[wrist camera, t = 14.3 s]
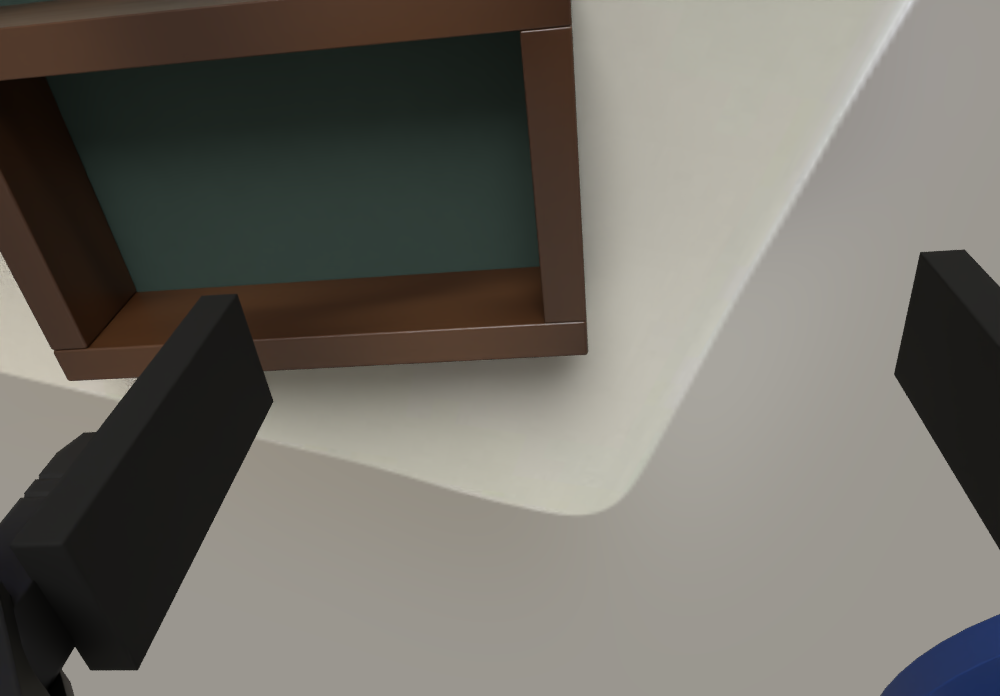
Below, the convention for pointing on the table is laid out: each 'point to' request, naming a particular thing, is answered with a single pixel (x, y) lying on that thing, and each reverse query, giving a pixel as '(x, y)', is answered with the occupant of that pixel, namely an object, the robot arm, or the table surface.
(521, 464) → the table surface
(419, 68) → the mat
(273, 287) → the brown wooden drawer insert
